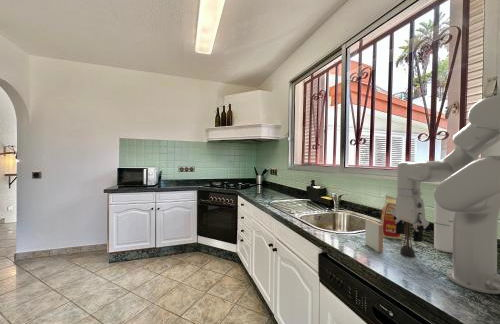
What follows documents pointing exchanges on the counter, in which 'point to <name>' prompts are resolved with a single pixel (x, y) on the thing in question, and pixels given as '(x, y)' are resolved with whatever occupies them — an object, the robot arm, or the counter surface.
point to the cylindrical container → (443, 228)
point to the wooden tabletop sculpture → (407, 243)
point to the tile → (374, 235)
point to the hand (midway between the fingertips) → (408, 237)
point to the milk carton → (389, 219)
